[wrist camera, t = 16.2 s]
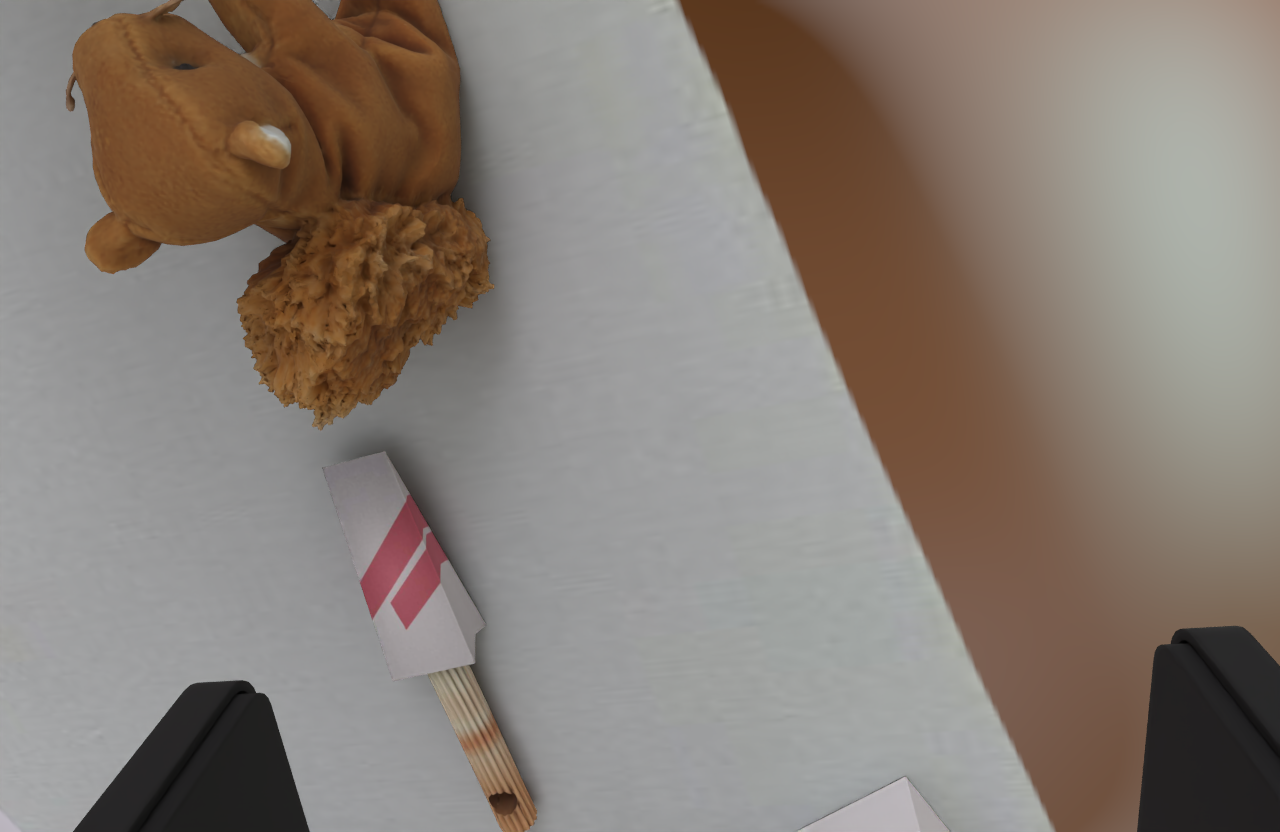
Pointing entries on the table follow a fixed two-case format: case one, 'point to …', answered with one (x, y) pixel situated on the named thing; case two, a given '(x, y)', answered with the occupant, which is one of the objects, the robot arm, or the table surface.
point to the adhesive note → (883, 813)
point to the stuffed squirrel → (294, 176)
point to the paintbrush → (424, 618)
